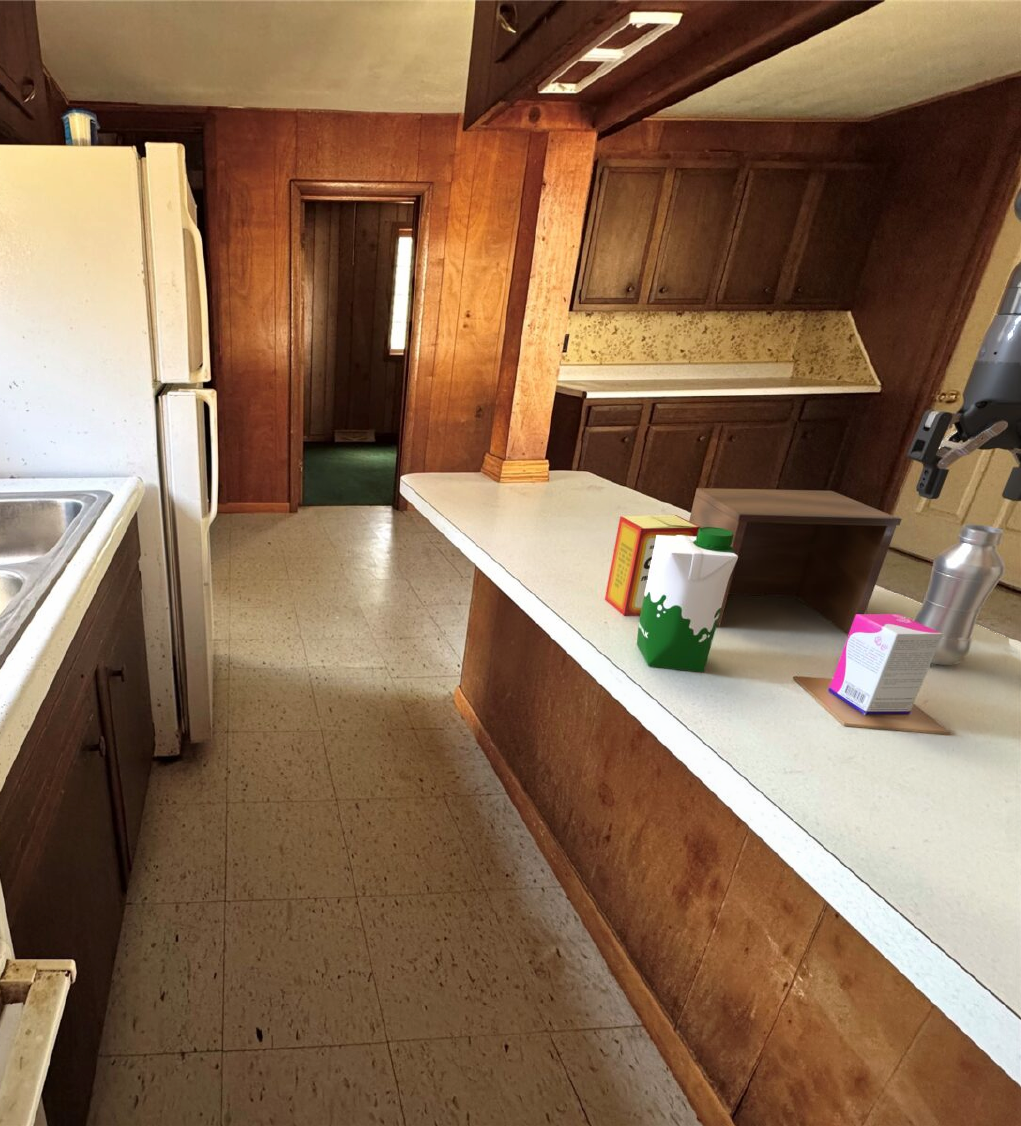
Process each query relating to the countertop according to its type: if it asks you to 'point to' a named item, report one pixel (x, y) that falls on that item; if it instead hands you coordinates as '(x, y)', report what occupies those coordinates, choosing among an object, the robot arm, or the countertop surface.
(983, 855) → the countertop surface
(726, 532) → the milk carton
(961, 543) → the silver metal bottle
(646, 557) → the baking soda box
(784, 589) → the cupboard
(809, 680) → the cork mat
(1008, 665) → the countertop surface
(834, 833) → the countertop surface
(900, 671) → the supplement box
